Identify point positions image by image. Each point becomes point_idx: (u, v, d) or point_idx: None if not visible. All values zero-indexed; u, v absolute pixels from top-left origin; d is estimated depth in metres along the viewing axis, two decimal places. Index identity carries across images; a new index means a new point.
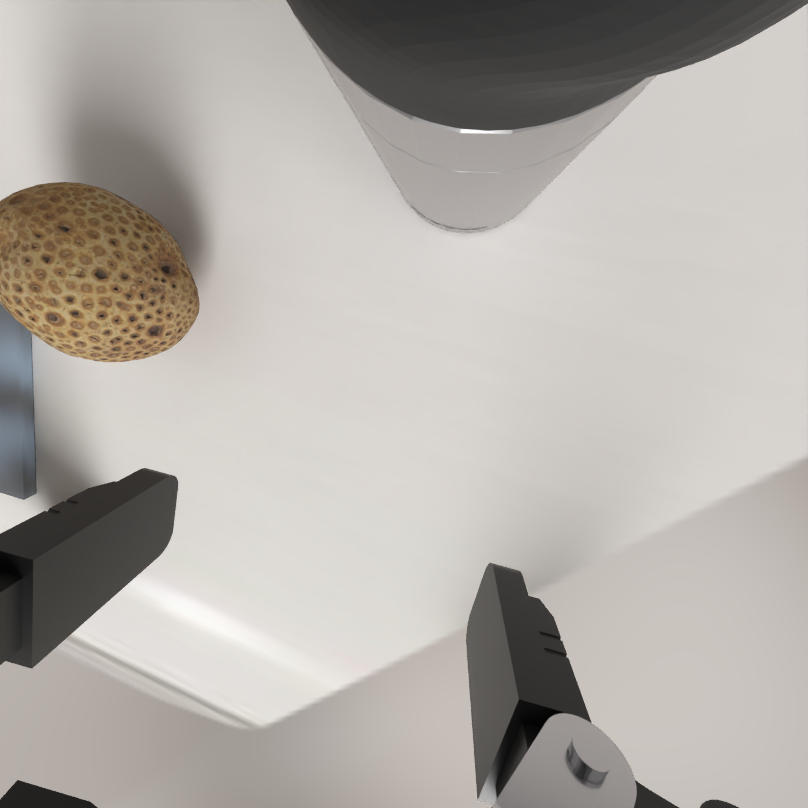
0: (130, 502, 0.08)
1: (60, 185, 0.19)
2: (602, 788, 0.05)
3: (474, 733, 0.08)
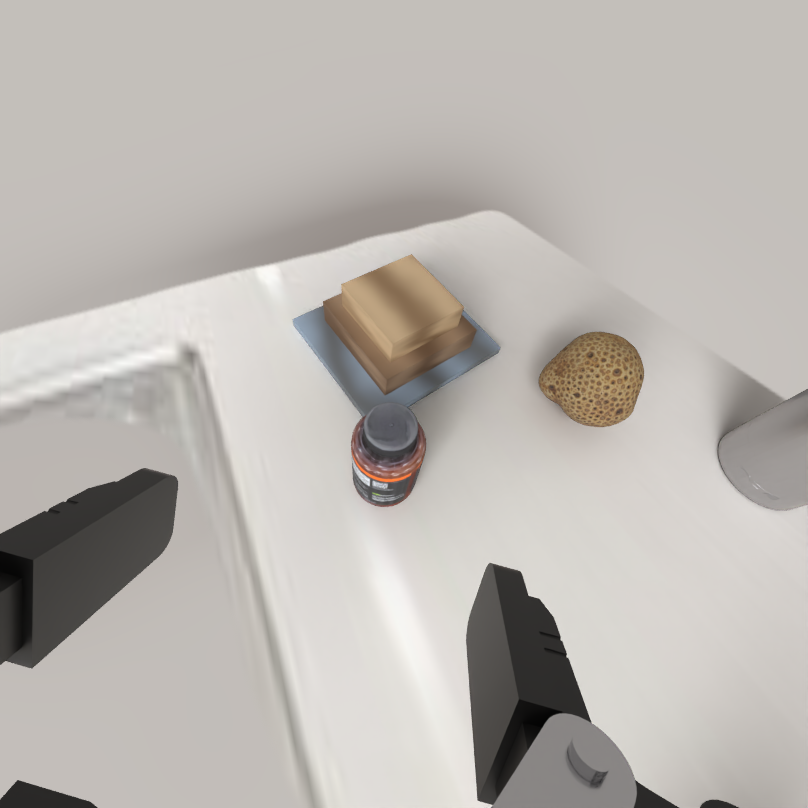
0: (130, 502, 0.08)
1: None
2: (602, 788, 0.05)
3: (474, 733, 0.08)
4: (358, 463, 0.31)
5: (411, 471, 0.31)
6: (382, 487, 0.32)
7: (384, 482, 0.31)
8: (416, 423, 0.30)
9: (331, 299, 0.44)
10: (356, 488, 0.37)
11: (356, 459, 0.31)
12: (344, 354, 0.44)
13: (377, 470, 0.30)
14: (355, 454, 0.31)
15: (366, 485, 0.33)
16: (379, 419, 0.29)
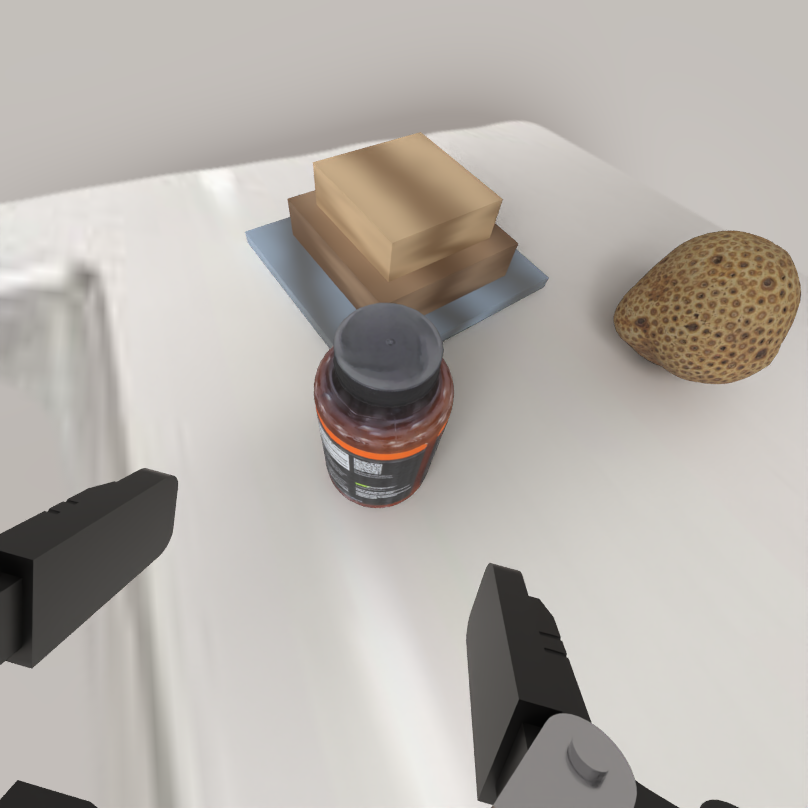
0: (130, 502, 0.08)
1: None
2: (602, 788, 0.05)
3: (474, 733, 0.08)
4: (325, 423, 0.16)
5: (427, 440, 0.16)
6: (373, 472, 0.17)
7: (375, 462, 0.16)
8: (439, 340, 0.15)
9: (300, 196, 0.30)
10: (330, 477, 0.22)
11: (322, 416, 0.16)
12: (319, 279, 0.30)
13: (362, 434, 0.15)
14: (319, 406, 0.16)
15: (344, 469, 0.19)
16: (365, 331, 0.15)
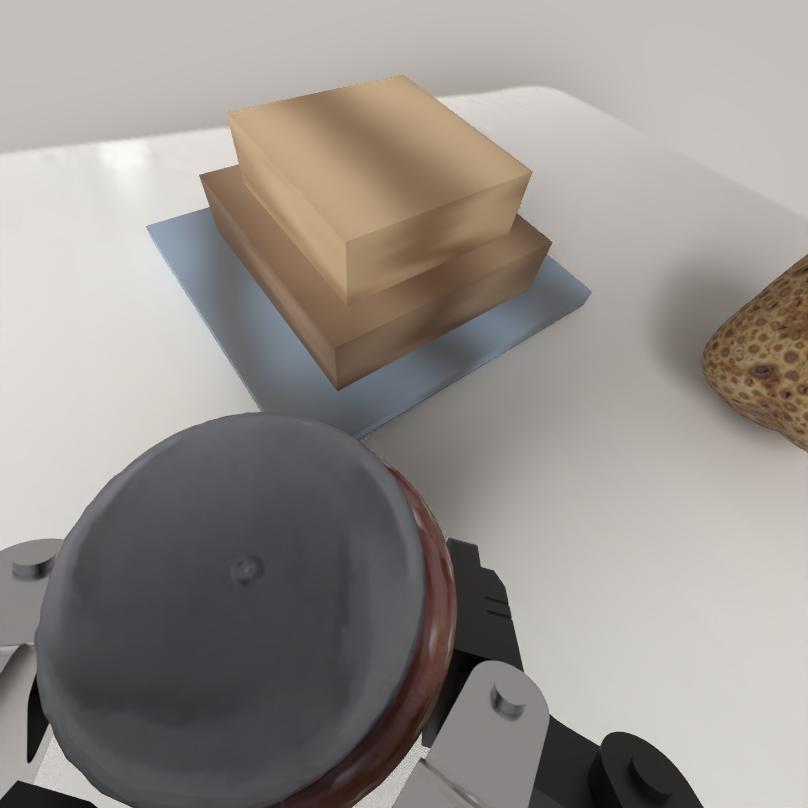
0: None
1: None
2: (517, 719, 0.06)
3: None
4: None
5: None
6: None
7: None
8: (414, 551, 0.05)
9: (220, 172, 0.19)
10: None
11: None
12: (250, 298, 0.20)
13: None
14: None
15: None
16: (168, 529, 0.04)
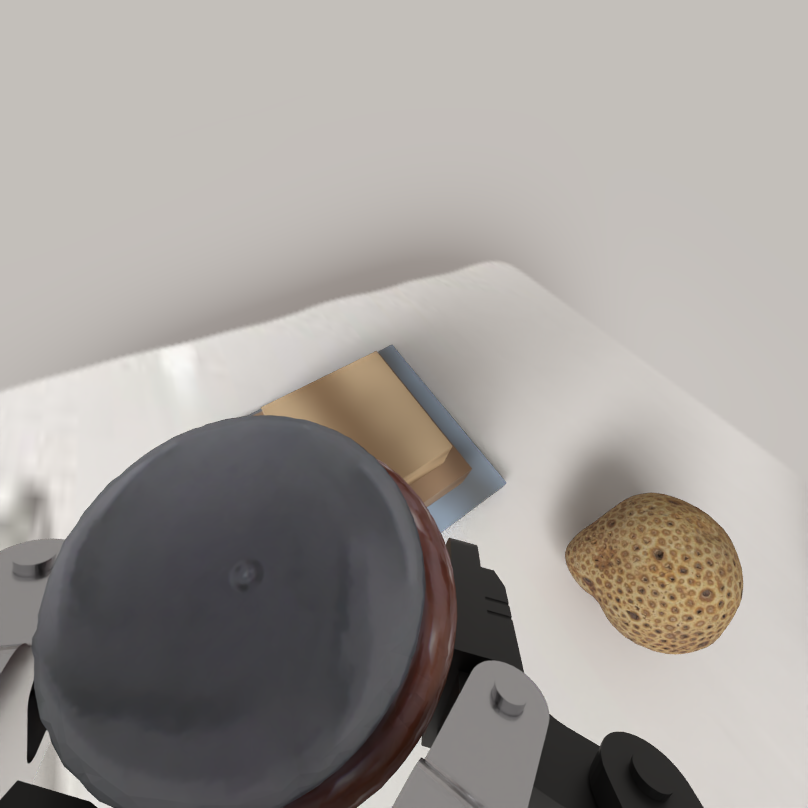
0: None
1: None
2: (517, 719, 0.06)
3: None
4: None
5: None
6: None
7: None
8: (414, 555, 0.05)
9: None
10: None
11: None
12: None
13: None
14: None
15: None
16: (167, 533, 0.04)
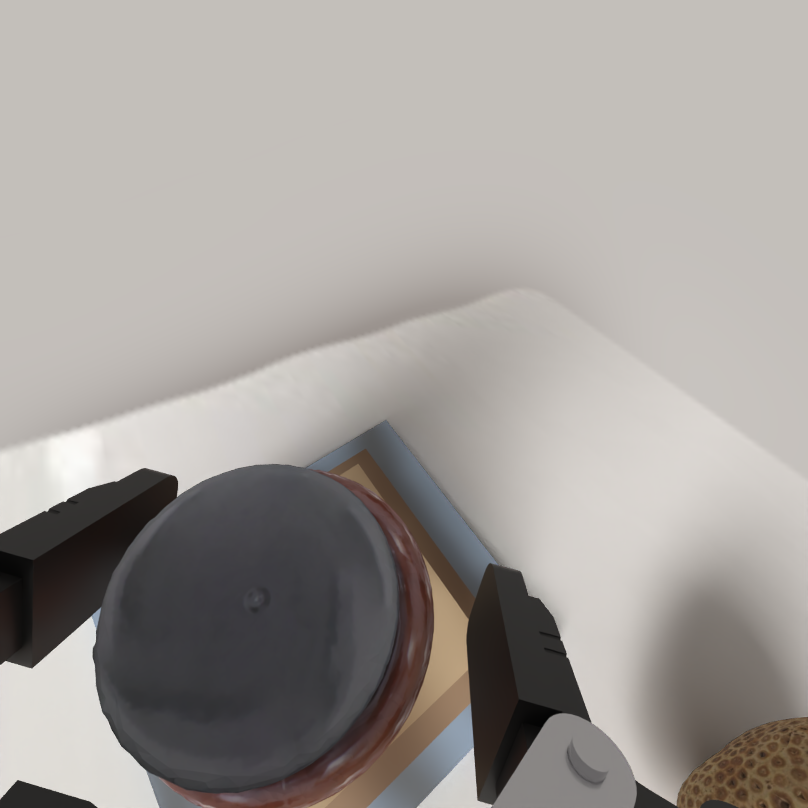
0: (130, 502, 0.08)
1: None
2: (602, 788, 0.05)
3: (474, 733, 0.08)
4: None
5: None
6: None
7: None
8: (390, 583, 0.06)
9: None
10: None
11: None
12: None
13: (201, 798, 0.06)
14: None
15: None
16: (194, 566, 0.06)
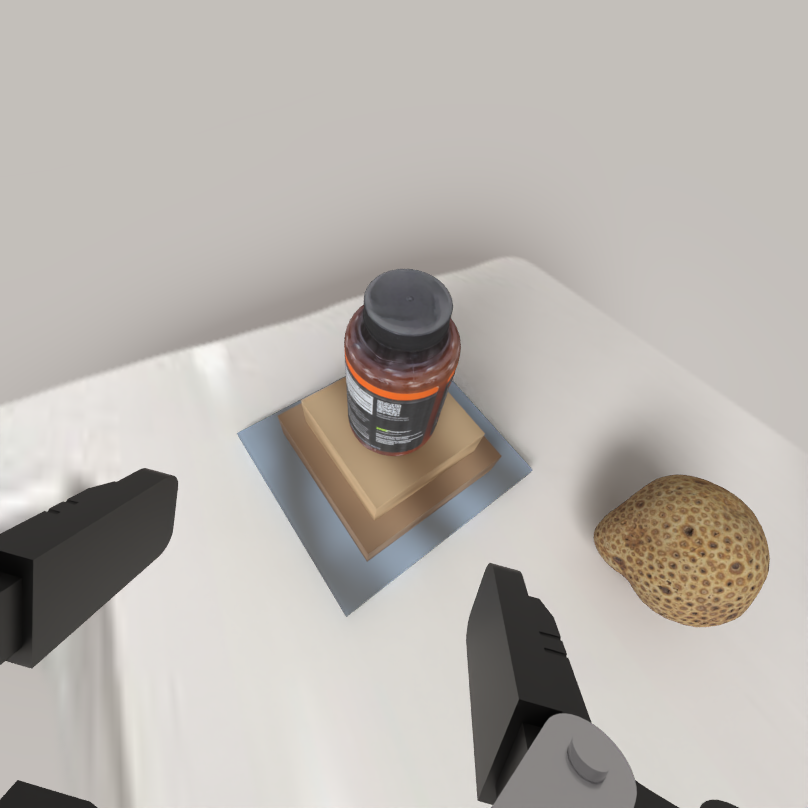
0: (130, 502, 0.08)
1: None
2: (602, 788, 0.05)
3: (474, 733, 0.08)
4: (355, 369, 0.19)
5: (439, 383, 0.20)
6: (392, 413, 0.21)
7: (395, 402, 0.20)
8: (449, 298, 0.18)
9: (290, 411, 0.30)
10: (352, 429, 0.26)
11: (352, 363, 0.19)
12: (309, 490, 0.31)
13: (386, 376, 0.19)
14: (350, 354, 0.19)
15: (367, 414, 0.22)
16: (389, 290, 0.18)
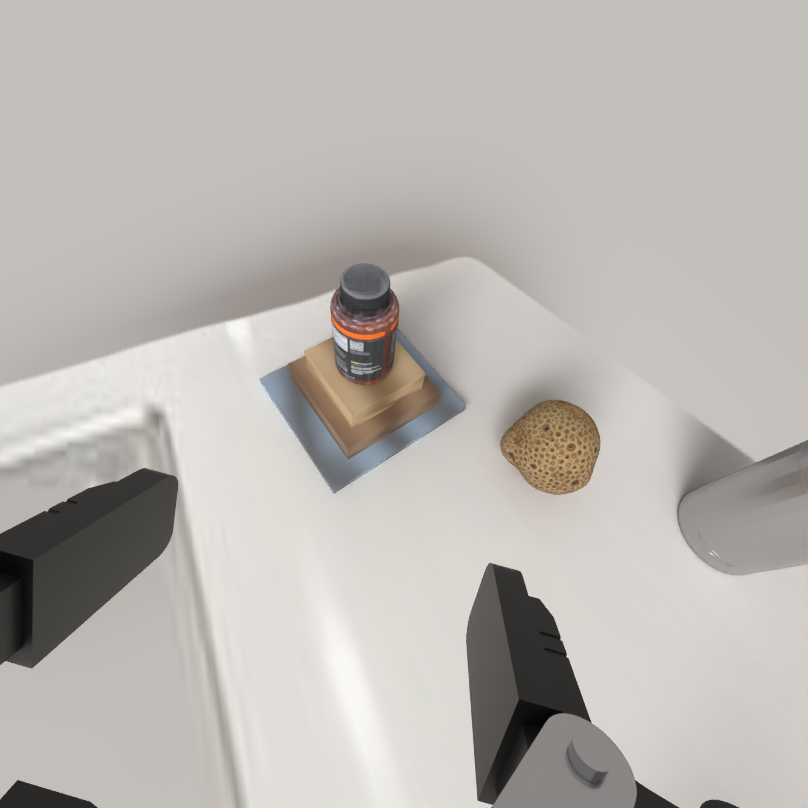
0: (130, 502, 0.08)
1: None
2: (602, 788, 0.05)
3: (474, 733, 0.08)
4: (336, 321, 0.34)
5: (384, 329, 0.34)
6: (359, 349, 0.35)
7: (360, 341, 0.34)
8: (388, 280, 0.32)
9: (296, 361, 0.45)
10: (337, 367, 0.40)
11: (334, 318, 0.34)
12: (309, 415, 0.45)
13: (353, 324, 0.33)
14: (333, 312, 0.34)
15: (345, 351, 0.36)
16: (354, 275, 0.32)
